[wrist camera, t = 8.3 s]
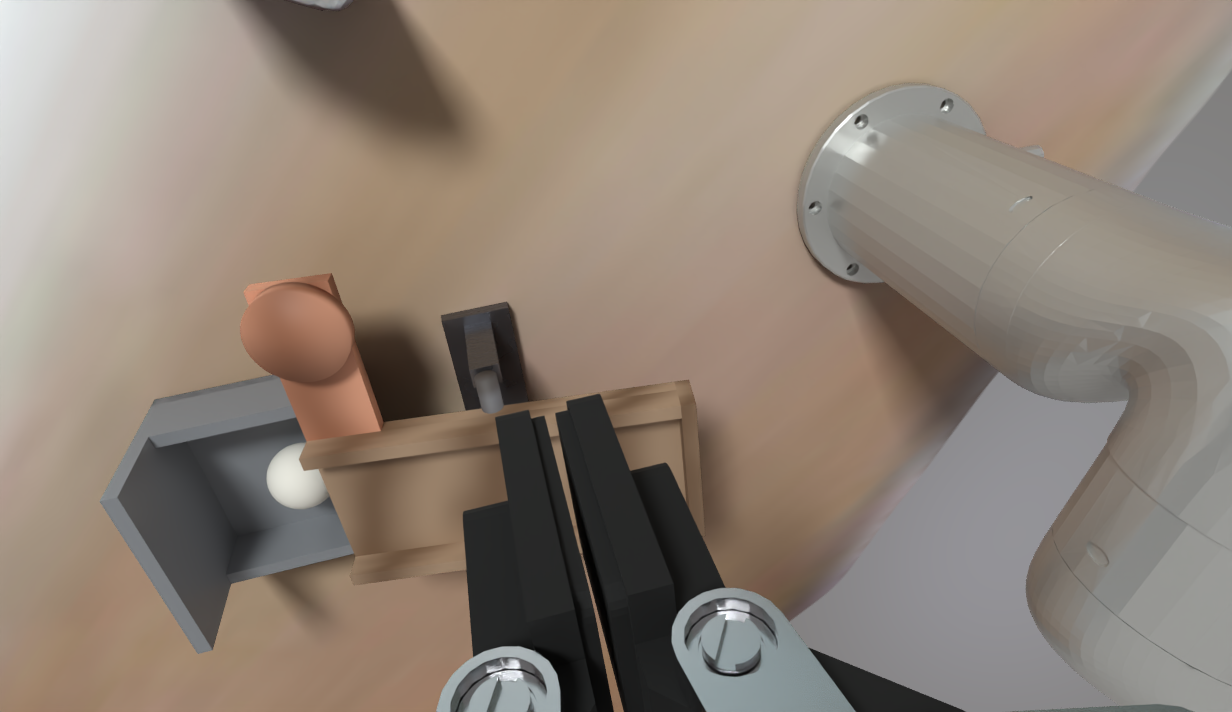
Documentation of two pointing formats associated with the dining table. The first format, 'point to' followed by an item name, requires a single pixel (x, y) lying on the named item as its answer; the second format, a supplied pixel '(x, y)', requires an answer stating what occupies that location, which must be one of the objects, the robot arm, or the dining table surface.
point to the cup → (215, 500)
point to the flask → (324, 4)
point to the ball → (295, 480)
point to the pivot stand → (485, 352)
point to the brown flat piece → (427, 436)
